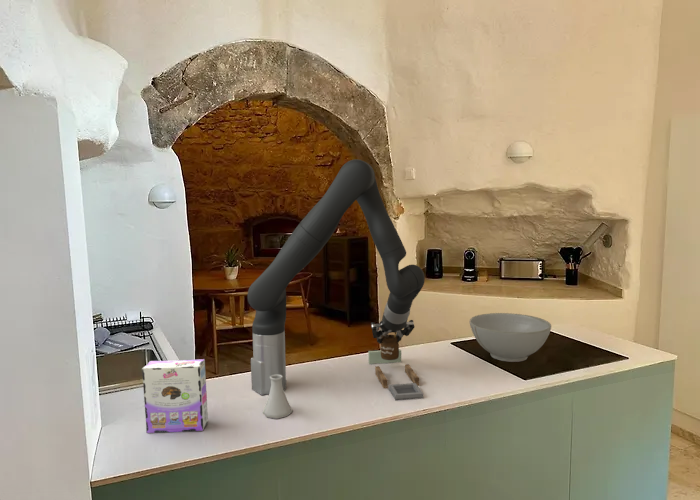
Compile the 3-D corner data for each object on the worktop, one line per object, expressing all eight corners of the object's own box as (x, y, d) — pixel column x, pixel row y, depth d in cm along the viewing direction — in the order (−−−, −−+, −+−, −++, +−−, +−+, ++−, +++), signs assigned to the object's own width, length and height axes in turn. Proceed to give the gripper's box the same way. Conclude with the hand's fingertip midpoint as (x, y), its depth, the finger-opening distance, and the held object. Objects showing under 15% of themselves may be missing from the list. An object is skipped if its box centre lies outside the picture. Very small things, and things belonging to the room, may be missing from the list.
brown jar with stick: (386, 353, 168) (385, 318, 167) (403, 356, 165) (402, 320, 163) (377, 358, 163) (376, 322, 162) (394, 361, 160) (393, 324, 159)
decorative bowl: (453, 355, 177) (453, 321, 176) (497, 340, 194) (498, 309, 193) (522, 375, 157) (523, 337, 155) (565, 357, 174) (566, 322, 172)
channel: (419, 385, 150) (419, 377, 149) (383, 388, 148) (383, 380, 148) (408, 371, 161) (408, 364, 161) (375, 374, 160) (375, 366, 160)
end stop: (401, 362, 171) (401, 350, 170) (369, 364, 169) (369, 352, 169) (400, 360, 172) (400, 349, 172) (368, 362, 171) (368, 351, 170)
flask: (278, 405, 137) (277, 369, 136) (297, 412, 133) (296, 375, 132) (257, 414, 132) (256, 377, 131) (276, 422, 127) (275, 383, 126)
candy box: (209, 421, 128) (206, 358, 126) (203, 432, 122) (199, 366, 121) (153, 422, 128) (150, 359, 126) (145, 433, 122) (141, 367, 120)
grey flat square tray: (423, 398, 141) (423, 393, 140) (395, 400, 139) (395, 395, 139) (415, 387, 148) (415, 382, 148) (388, 389, 147) (388, 384, 147)
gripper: (417, 301, 156) (407, 329, 169) (371, 303, 154) (365, 332, 167) (422, 322, 151) (411, 349, 164) (375, 325, 149) (368, 352, 162)
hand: (388, 340), depth 165 cm, fingers closed on brown jar with stick, 5 cm apart
